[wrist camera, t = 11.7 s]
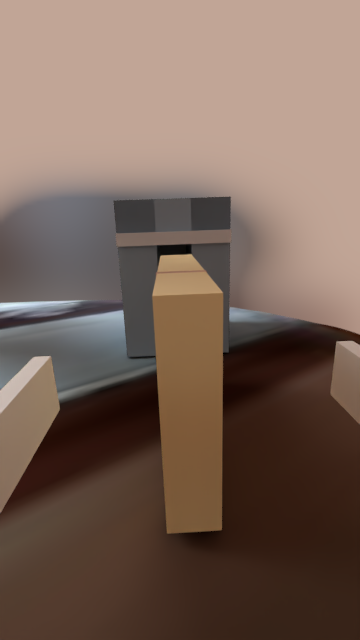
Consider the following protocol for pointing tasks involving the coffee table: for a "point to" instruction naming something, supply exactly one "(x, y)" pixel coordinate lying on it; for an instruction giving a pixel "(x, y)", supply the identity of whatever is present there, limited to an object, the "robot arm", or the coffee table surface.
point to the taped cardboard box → (189, 392)
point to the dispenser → (168, 239)
